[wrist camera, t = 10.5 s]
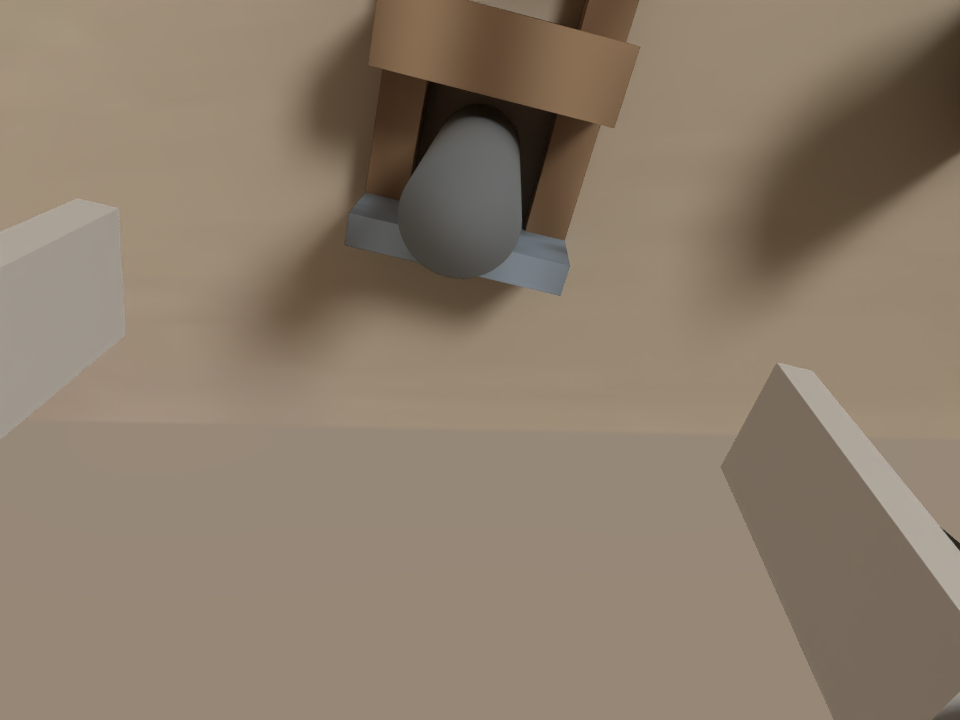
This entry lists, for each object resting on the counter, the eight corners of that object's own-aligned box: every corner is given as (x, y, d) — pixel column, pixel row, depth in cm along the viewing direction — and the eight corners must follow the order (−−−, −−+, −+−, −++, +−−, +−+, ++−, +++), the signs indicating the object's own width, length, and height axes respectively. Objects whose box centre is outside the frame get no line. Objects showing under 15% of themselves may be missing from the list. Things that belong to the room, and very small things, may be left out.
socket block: (685, -169, 25) (721, -208, 20) (554, 258, 33) (560, 296, 29) (433, -243, 24) (415, -299, 20) (367, 213, 33) (344, 245, 28)
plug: (528, 116, 30) (536, 173, 19) (507, 197, 32) (504, 290, 21) (446, 94, 30) (409, 141, 19) (430, 178, 32) (388, 263, 21)
